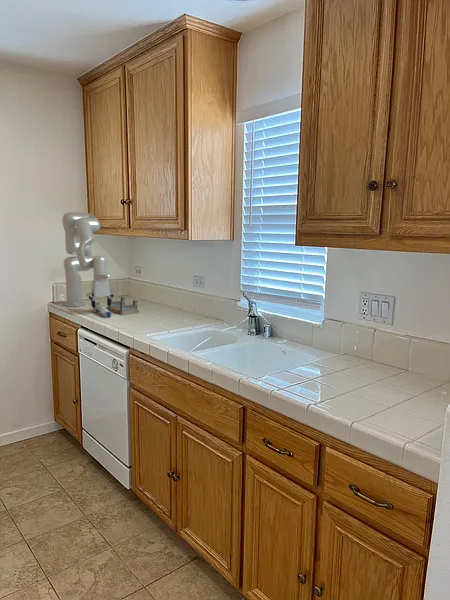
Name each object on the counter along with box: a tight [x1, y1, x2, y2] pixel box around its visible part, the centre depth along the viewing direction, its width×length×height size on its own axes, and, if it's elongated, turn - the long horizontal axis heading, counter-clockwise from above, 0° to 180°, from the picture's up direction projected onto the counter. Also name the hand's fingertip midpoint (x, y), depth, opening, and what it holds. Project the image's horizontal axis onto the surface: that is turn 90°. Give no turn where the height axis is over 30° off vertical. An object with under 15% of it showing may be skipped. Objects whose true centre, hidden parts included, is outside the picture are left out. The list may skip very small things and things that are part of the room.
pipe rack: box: [106, 296, 140, 316], centre depth 279 cm, size 21×11×8 cm, turn 40°
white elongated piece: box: [91, 300, 112, 319], centre depth 270 cm, size 5×7×25 cm
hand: (101, 306), depth 269 cm, fingers open, 9 cm apart
